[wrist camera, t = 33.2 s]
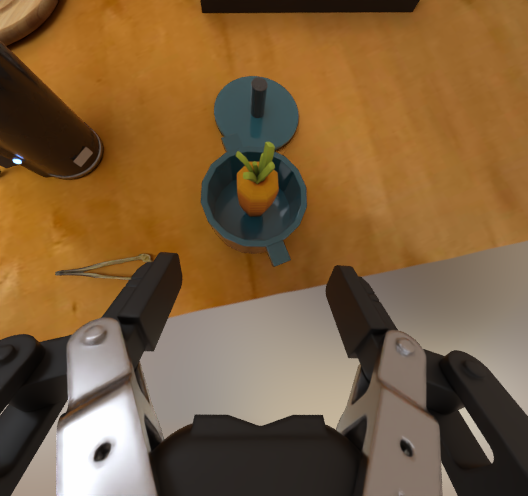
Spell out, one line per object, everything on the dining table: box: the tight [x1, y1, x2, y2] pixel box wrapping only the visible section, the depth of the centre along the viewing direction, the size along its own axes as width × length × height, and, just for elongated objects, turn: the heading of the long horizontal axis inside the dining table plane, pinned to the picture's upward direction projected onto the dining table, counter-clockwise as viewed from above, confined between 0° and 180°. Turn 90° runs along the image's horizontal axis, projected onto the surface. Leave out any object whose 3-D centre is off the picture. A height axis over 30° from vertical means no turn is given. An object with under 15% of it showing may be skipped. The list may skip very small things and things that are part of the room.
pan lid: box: [214, 76, 299, 150], centre depth 32 cm, size 15×15×6 cm
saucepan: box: [201, 133, 307, 267], centre depth 29 cm, size 14×19×7 cm
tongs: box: [55, 254, 153, 280], centre depth 28 cm, size 4×13×2 cm, turn 99°
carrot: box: [236, 142, 279, 217], centre depth 24 cm, size 5×5×15 cm
